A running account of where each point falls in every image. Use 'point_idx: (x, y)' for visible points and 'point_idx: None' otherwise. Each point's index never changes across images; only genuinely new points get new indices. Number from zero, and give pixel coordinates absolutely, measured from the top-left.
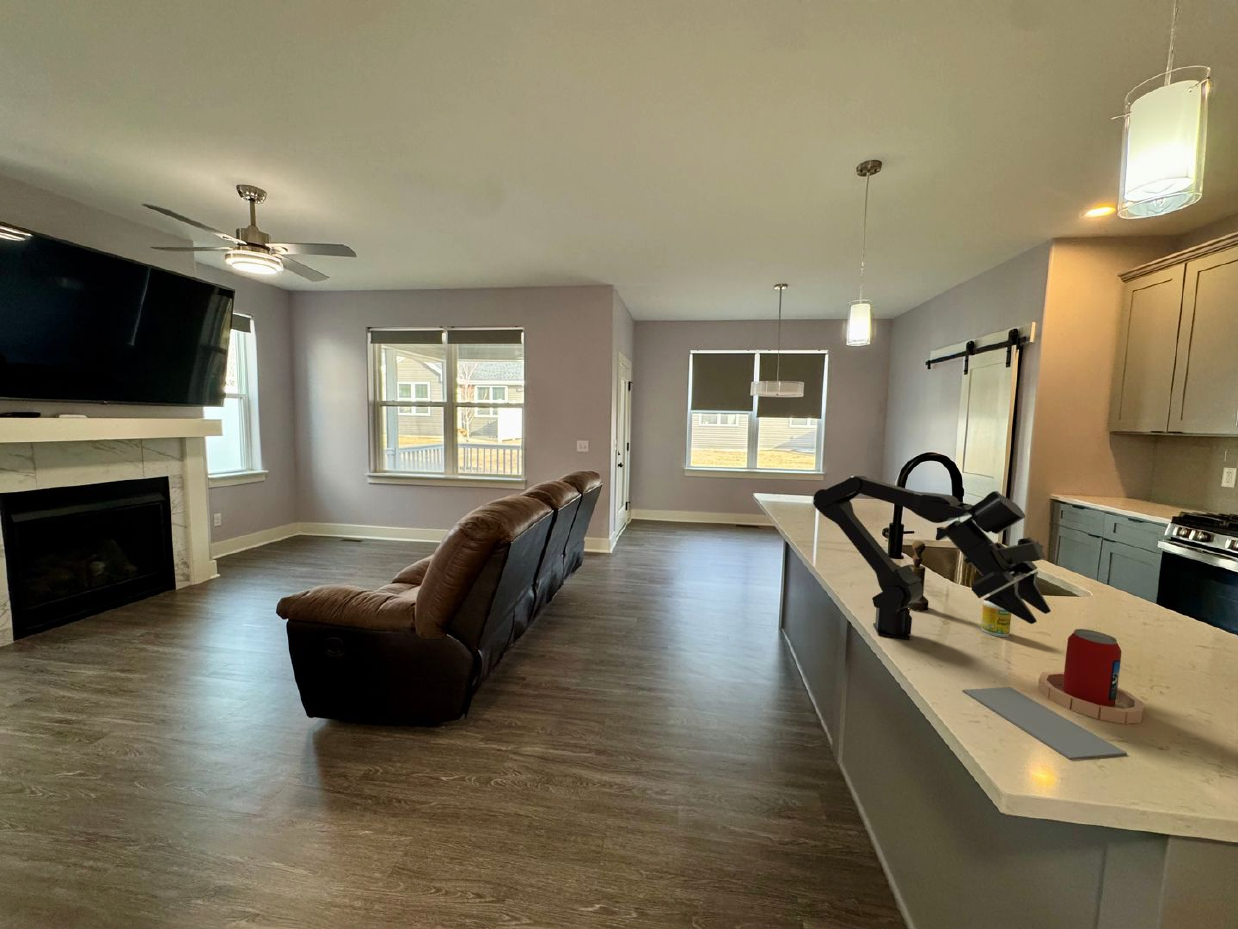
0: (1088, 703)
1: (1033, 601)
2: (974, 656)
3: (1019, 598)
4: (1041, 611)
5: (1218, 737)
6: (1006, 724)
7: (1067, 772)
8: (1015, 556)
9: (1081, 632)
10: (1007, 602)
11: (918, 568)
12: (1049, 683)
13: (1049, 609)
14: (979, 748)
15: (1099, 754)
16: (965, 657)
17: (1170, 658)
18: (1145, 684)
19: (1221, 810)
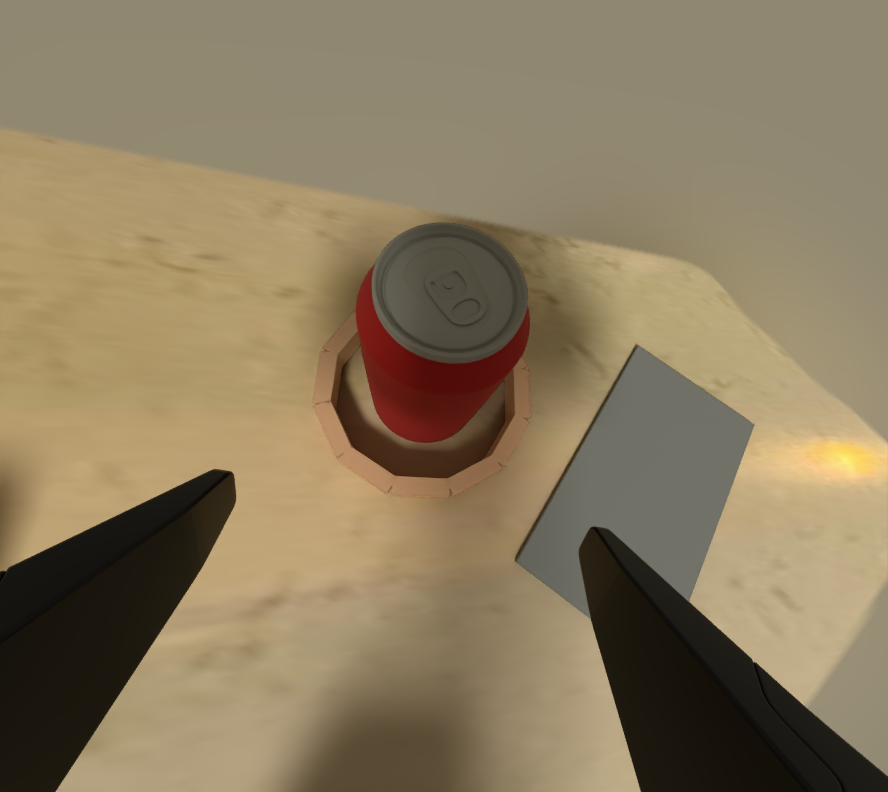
0: (525, 388)
1: (148, 612)
2: (307, 724)
3: (834, 750)
4: (220, 527)
5: (406, 216)
6: (728, 536)
7: (794, 427)
8: None
9: (438, 333)
10: None
11: None
12: (470, 469)
13: (217, 476)
14: (876, 564)
15: (691, 383)
16: (348, 751)
17: None
18: (169, 277)
19: (686, 266)
